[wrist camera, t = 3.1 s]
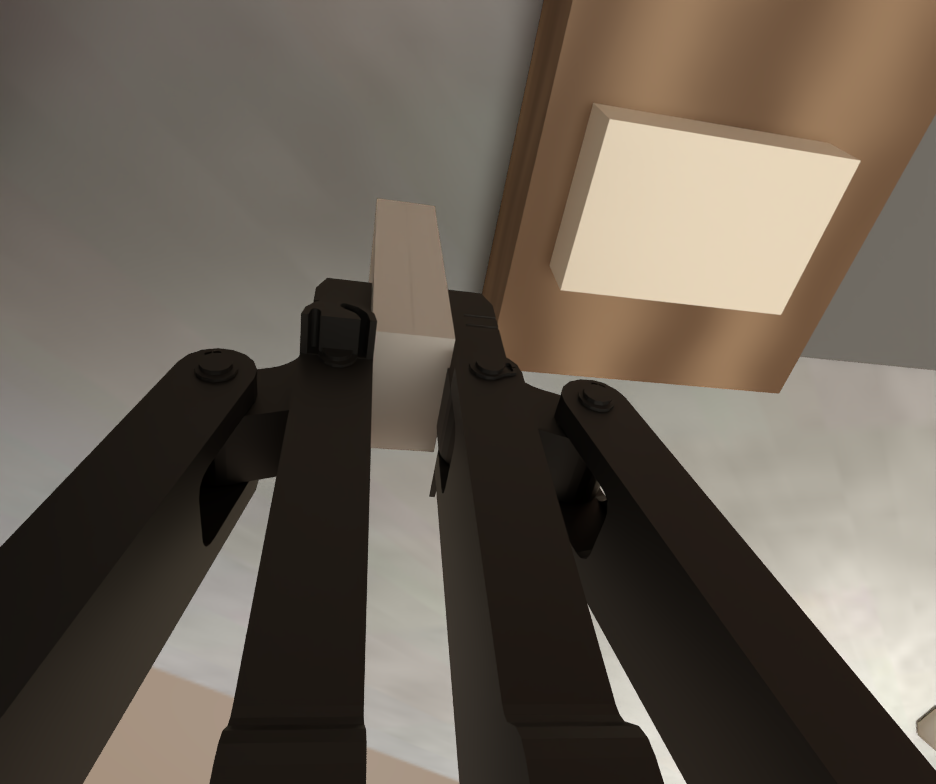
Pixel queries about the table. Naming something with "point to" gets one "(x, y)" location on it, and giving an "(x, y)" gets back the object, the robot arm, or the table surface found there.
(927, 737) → the flask
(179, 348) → the table surface
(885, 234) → the mat
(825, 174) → the tile
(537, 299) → the deck
